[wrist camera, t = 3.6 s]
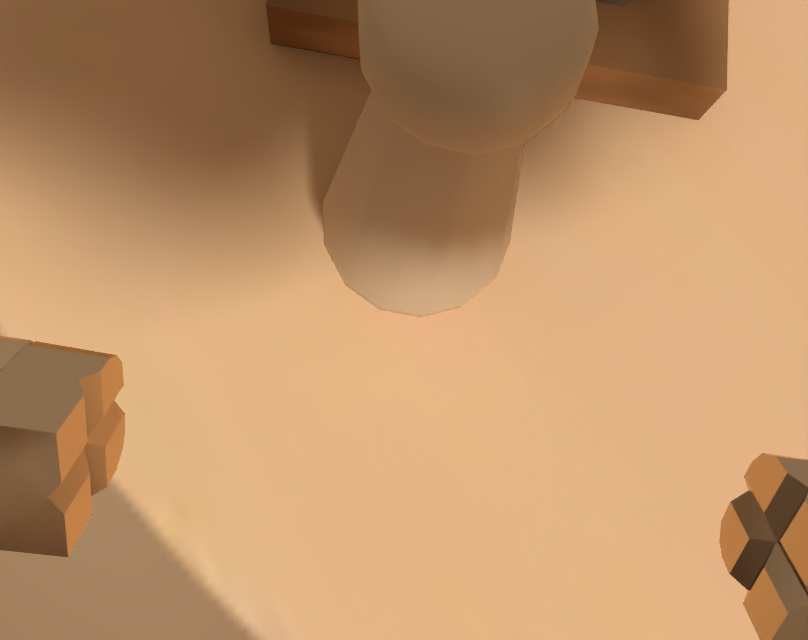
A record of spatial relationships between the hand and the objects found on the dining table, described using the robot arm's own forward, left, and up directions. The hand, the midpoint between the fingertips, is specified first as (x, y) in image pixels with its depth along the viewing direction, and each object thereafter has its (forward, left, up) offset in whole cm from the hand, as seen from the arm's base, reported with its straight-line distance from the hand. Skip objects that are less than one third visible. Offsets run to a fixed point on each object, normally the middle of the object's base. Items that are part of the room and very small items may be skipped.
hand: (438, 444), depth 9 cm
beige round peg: (0, -8, -14) cm, 16 cm away
